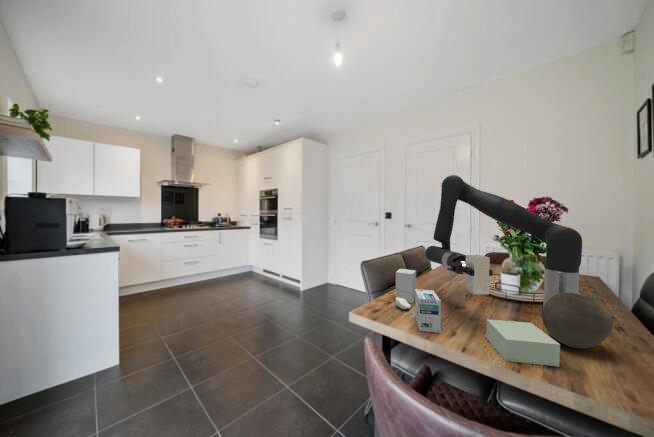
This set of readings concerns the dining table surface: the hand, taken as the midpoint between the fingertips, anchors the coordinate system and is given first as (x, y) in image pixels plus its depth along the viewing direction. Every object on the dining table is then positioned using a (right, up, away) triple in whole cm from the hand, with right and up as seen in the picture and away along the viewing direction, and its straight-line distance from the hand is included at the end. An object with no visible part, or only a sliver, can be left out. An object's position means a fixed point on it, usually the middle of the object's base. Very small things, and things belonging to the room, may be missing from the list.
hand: (482, 273), depth 80 cm
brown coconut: (+22, -20, -8) cm, 30 cm away
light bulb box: (-16, -19, +5) cm, 25 cm away
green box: (+4, -20, -11) cm, 23 cm away
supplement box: (-16, -18, +29) cm, 37 cm away
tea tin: (0, -7, +3) cm, 7 cm away
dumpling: (-20, -19, +19) cm, 33 cm away
